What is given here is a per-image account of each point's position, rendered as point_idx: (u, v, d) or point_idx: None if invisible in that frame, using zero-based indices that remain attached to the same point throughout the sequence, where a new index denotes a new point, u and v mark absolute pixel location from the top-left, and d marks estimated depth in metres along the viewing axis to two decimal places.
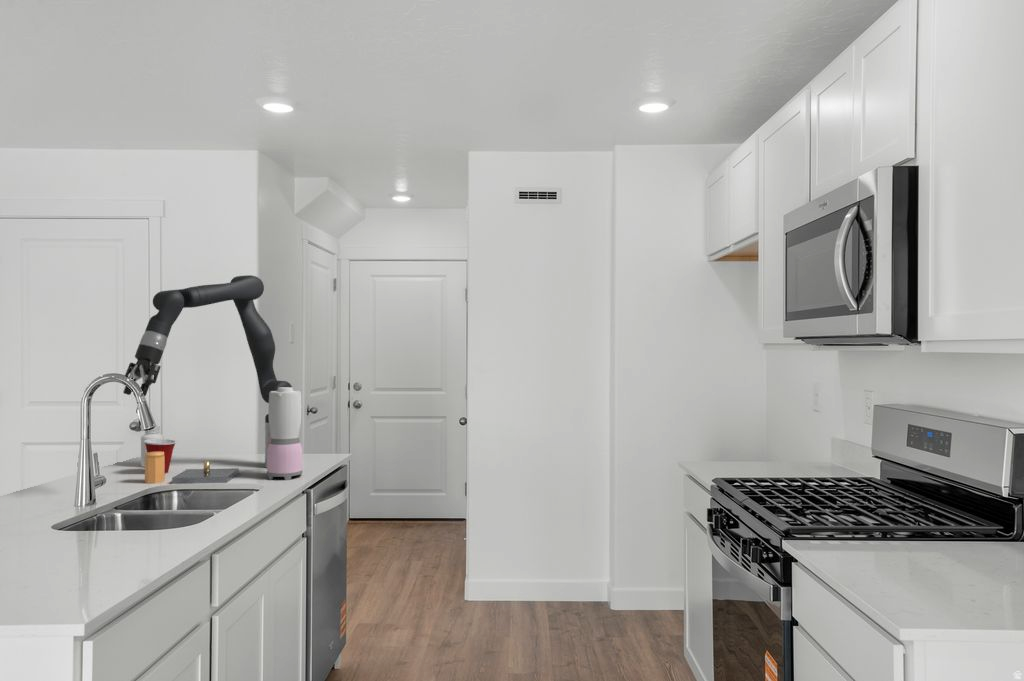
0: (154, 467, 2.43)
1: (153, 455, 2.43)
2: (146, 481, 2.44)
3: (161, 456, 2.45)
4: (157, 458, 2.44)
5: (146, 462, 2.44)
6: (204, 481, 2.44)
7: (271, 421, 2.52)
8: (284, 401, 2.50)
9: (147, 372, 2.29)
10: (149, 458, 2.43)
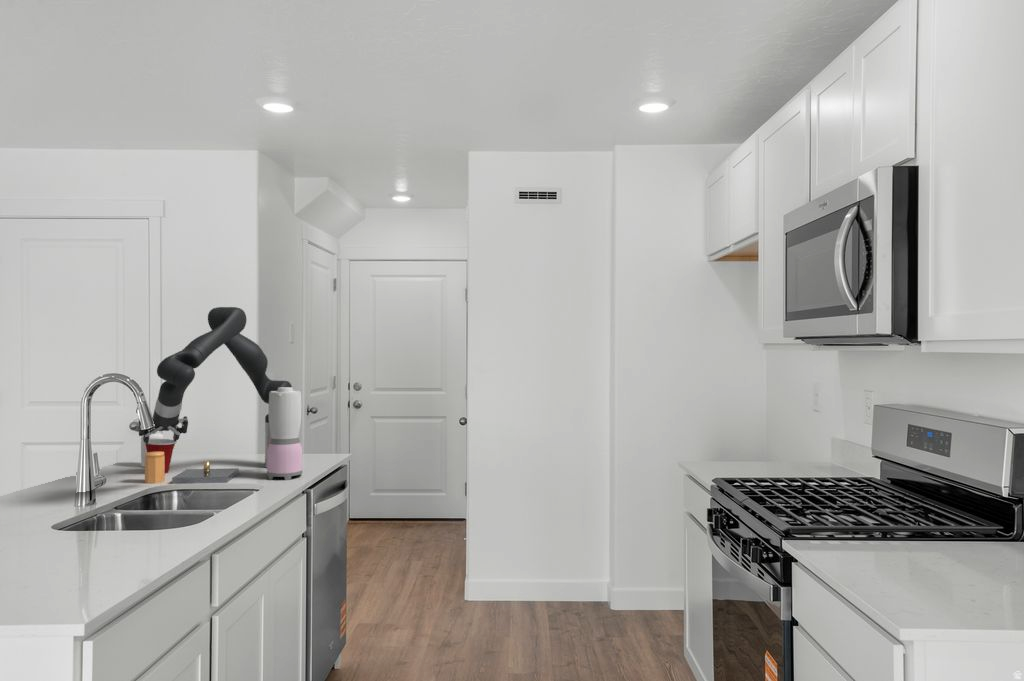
0: (154, 467, 2.43)
1: (153, 455, 2.43)
2: (146, 481, 2.44)
3: (161, 456, 2.45)
4: (157, 458, 2.44)
5: (146, 462, 2.44)
6: (204, 481, 2.44)
7: (271, 421, 2.52)
8: (284, 401, 2.50)
9: None
10: (149, 458, 2.43)
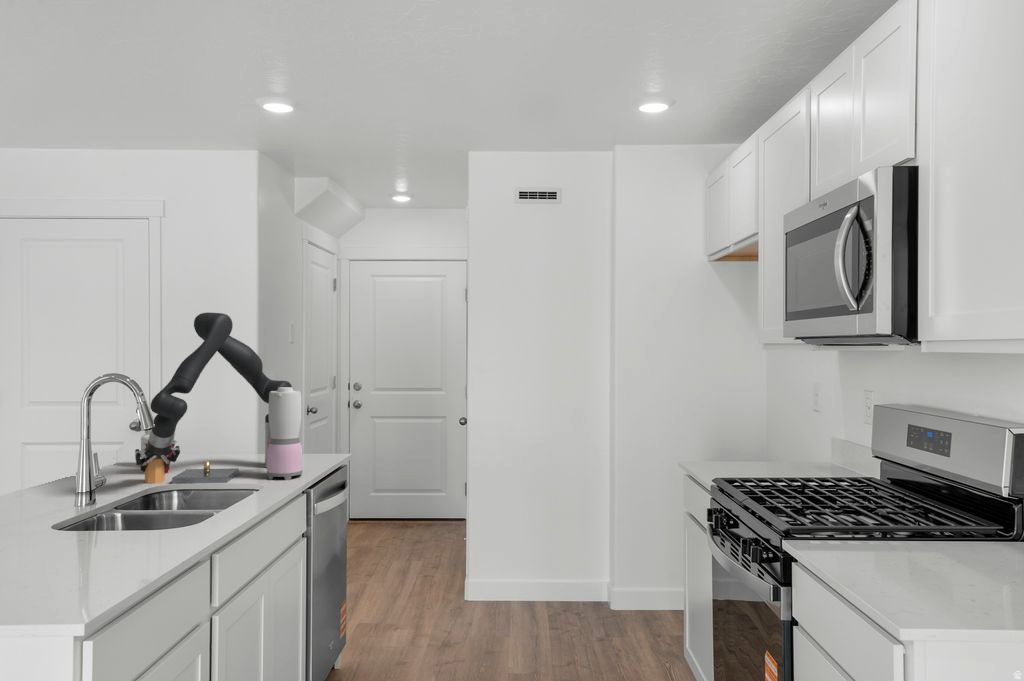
0: (154, 467, 2.43)
1: None
2: (146, 481, 2.44)
3: None
4: None
5: None
6: (204, 481, 2.44)
7: (271, 421, 2.52)
8: (284, 401, 2.50)
9: None
10: None
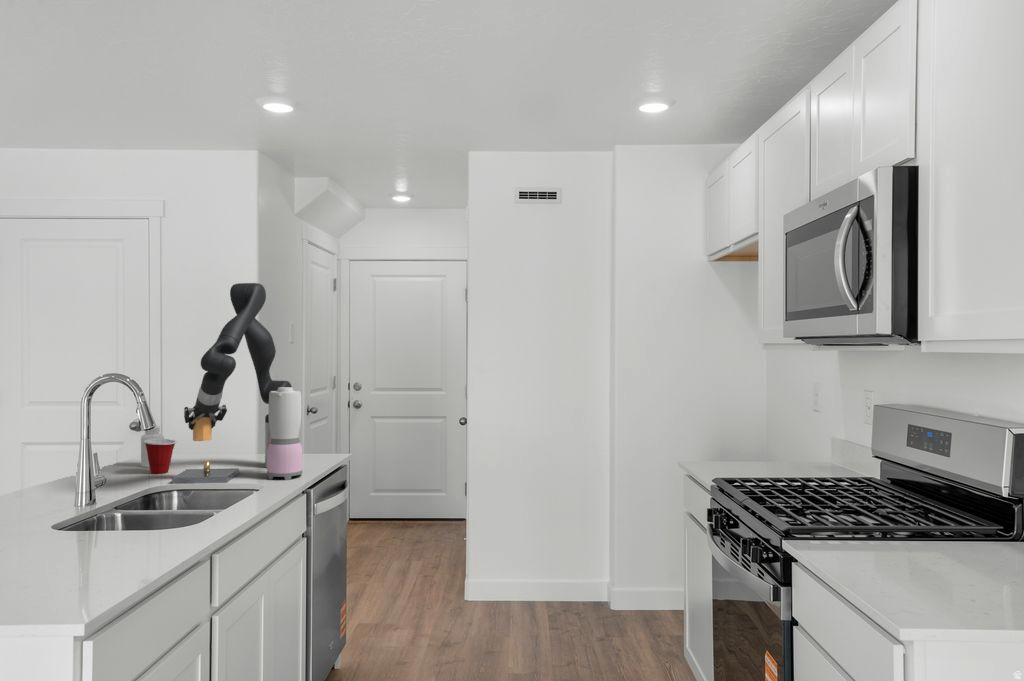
0: (202, 425, 2.49)
1: None
2: (195, 439, 2.49)
3: None
4: None
5: None
6: (204, 481, 2.44)
7: (271, 421, 2.52)
8: (284, 401, 2.50)
9: None
10: None
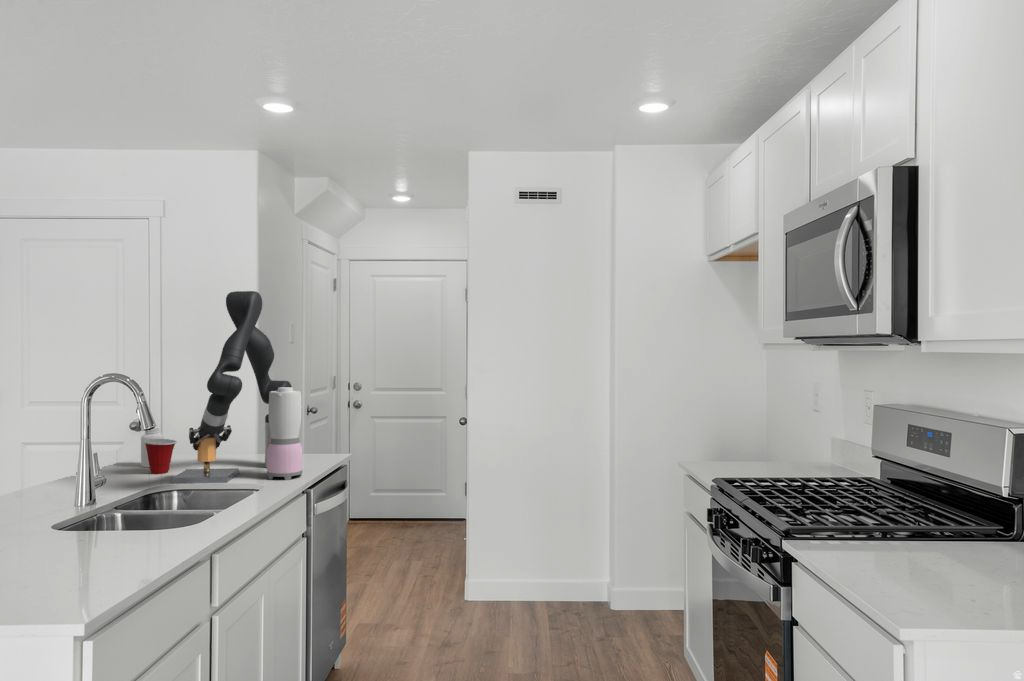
0: (207, 446, 2.49)
1: None
2: (199, 459, 2.50)
3: None
4: None
5: None
6: (204, 481, 2.44)
7: (271, 421, 2.52)
8: (284, 401, 2.50)
9: None
10: None
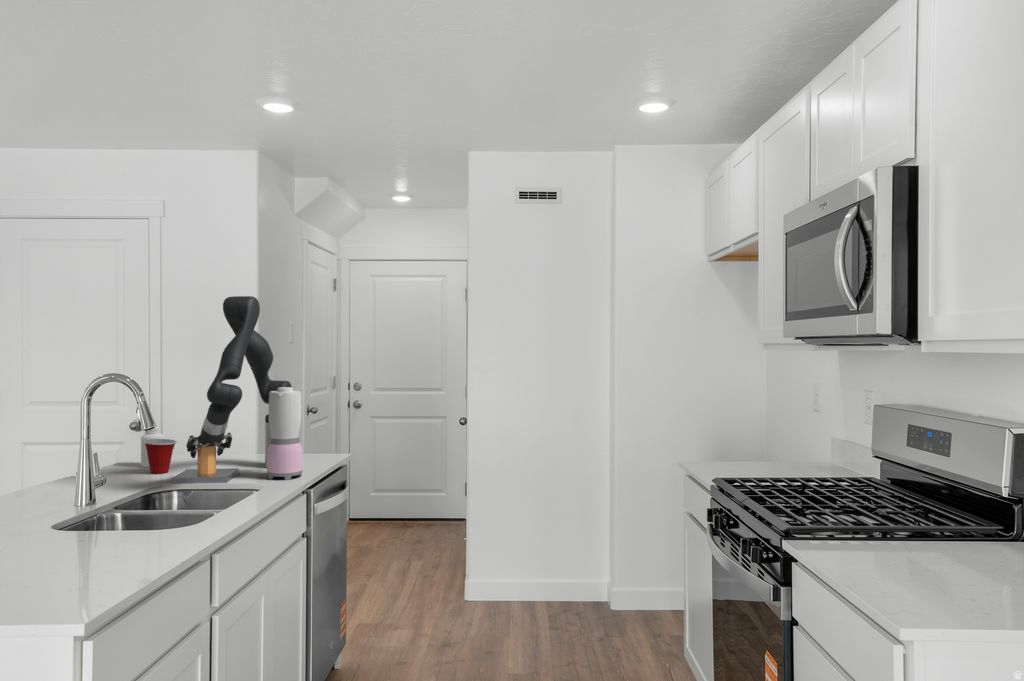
0: (207, 458, 2.49)
1: (206, 447, 2.49)
2: (199, 472, 2.50)
3: (213, 448, 2.51)
4: (209, 450, 2.50)
5: (199, 454, 2.50)
6: (204, 481, 2.44)
7: (271, 421, 2.52)
8: (284, 401, 2.50)
9: None
10: (202, 450, 2.49)
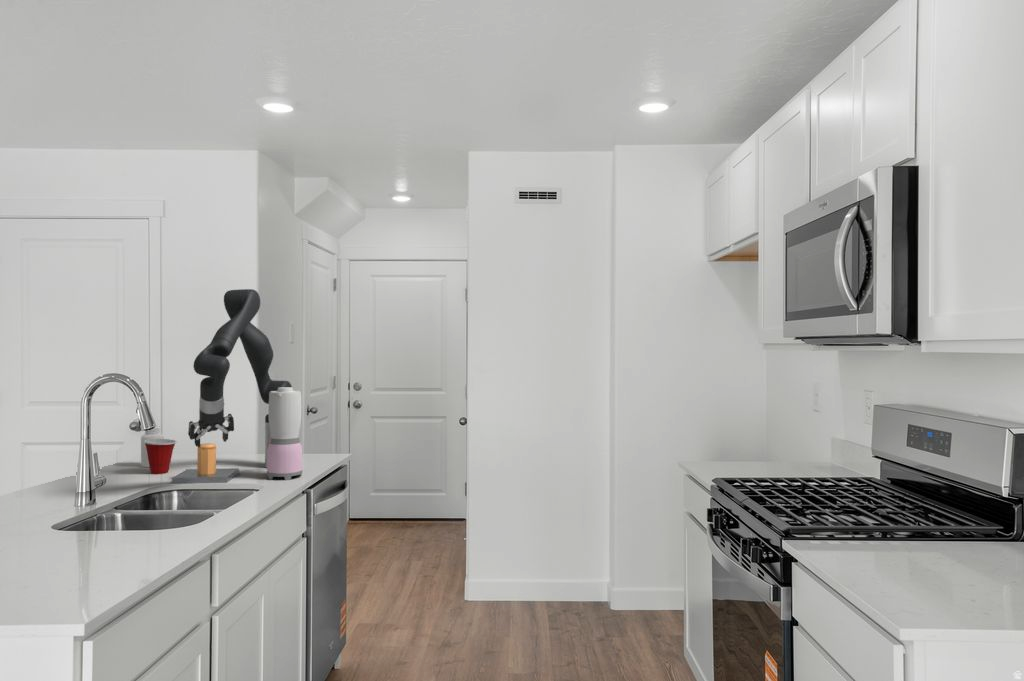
0: (207, 458, 2.49)
1: (206, 447, 2.49)
2: (199, 472, 2.50)
3: (213, 448, 2.51)
4: (209, 450, 2.50)
5: (199, 454, 2.50)
6: (204, 481, 2.44)
7: (271, 421, 2.52)
8: (284, 401, 2.50)
9: None
10: (202, 450, 2.49)
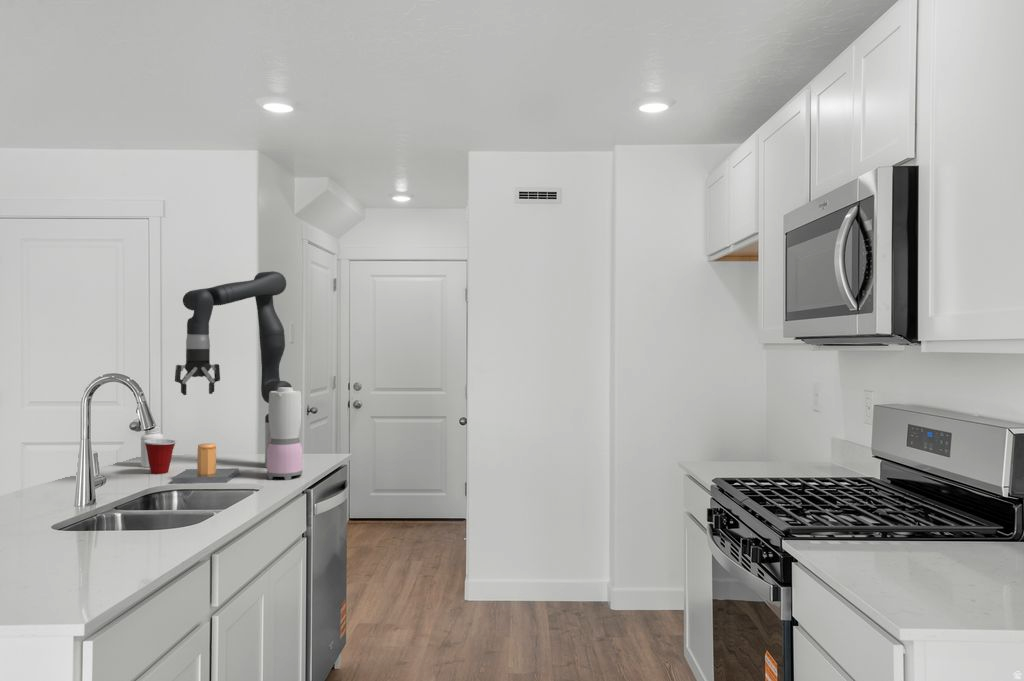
0: (207, 458, 2.49)
1: (206, 447, 2.49)
2: (199, 472, 2.50)
3: (213, 448, 2.51)
4: (209, 450, 2.50)
5: (199, 454, 2.50)
6: (204, 481, 2.44)
7: (271, 421, 2.52)
8: (284, 401, 2.50)
9: None
10: (202, 450, 2.49)
